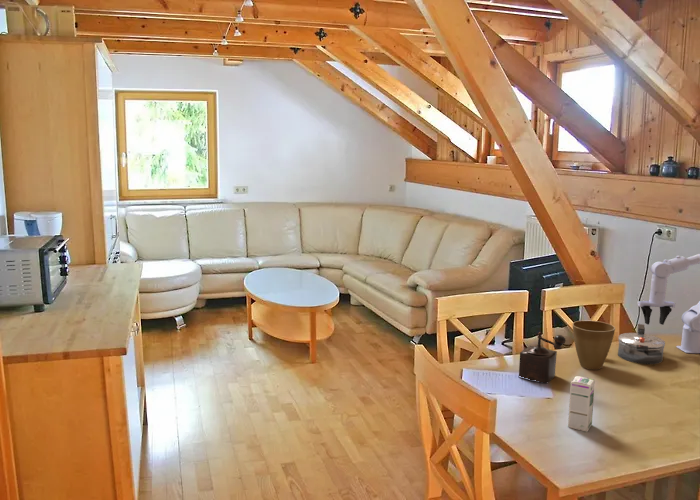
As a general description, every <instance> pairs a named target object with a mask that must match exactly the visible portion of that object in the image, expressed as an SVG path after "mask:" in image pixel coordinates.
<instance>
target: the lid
mask: <svg viewBox="0 0 700 500" xmlns="http://www.w3.org/2000/svg"><path fill="white" fill-rule="evenodd" d="M645 329H646V328H645V324H643V323H642V324H641V323H637V329H636V330H637V331H636V332H624V333H620V334H619V335H618V342H619V341H620V342H622V343H624V344H626V345H629V346H633V347H636V349H640V350H648V349H657V348H662V347H664V348H665V346H666V341H665V340H664V339H663V338H660V337H658V336H654V335H651V334H647V333H645V331H646V330H645Z"/></svg>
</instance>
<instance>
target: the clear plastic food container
mask: <svg viewBox="0 0 700 500" xmlns="http://www.w3.org/2000/svg"><path fill="white" fill-rule="evenodd" d="M664 348H665V346H664V347H662V348H657V349H648V350H640V349H636V347H633V346H629V345H626V344H624V343H622V342H620V341H619V340H618V349H617V355H618V357H619V358H621V359H622V360H624V361H628V362H630V363H635V364H641V365H657V364H660V363H662V362H663V360H664V359H663V358H664Z"/></svg>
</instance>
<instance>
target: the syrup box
mask: <svg viewBox="0 0 700 500" xmlns="http://www.w3.org/2000/svg"><path fill="white" fill-rule="evenodd" d="M595 382H596V380H595V379H594V378H589V377H586V376H579V375H578V376H577V375H576V376H575V377H574V378H572V380H571V381H570V391H569V404H568V407H569V408H568V419H567V420H568V423H567V424H568V425H567V427H568V428H569V429H570V428H571V429H575V430H579V431H582V432H585V433H586V432H588V431H589V430H590V428H591V426H592V425H593V424H592V423H593V415H594V414H593V411H594V398H595V397H594V396H595Z"/></svg>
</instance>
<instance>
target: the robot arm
mask: <svg viewBox="0 0 700 500" xmlns="http://www.w3.org/2000/svg"><path fill="white" fill-rule="evenodd" d="M694 265H700V253H697V254H695V255H691V256H689V257H685V256H683V255H681V256H680V255H679V254H678V255H675V257H674V258H671V259H663V261H656V262H654V263H652V264H651V266H650V268H649V270H650V272H651V274H652V275H651V280H650V288H649V289H650V290H649V297H648V298H649V300H640V301H639V300H638V301H637V306H638V307H639V308H640V309H641V311H642V315H643V318H644V324H646V325H650V322H651V315H652V312H653V309H652V308H653V307H655V308H656V307H658V308H659V312H660V313H659V324H660V325H661V326H662V325H664V324H665V322H666V320H667V318H668V316H669V315H670V313H671V312H672V310H673V309H672V308H676V302H674V301H668V300H666V294H667V286H668V285H667V283H668V277H669V276H670V275H672V274H675V273H680V272H683V271H687V270H688V269H689V267H691V266H694ZM651 307H652V308H651ZM681 321H682V323H683V326H682V334H681V343H680V345H676V346H675V347H676V348H677V349H678V350H681V351H682V352H684V353H685V354H700V300H699V301H698V303H697V304H694V305H693V306H691V307H690V308H689V309H688V310H685V311H684V312H683V313H682V315H681Z"/></svg>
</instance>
